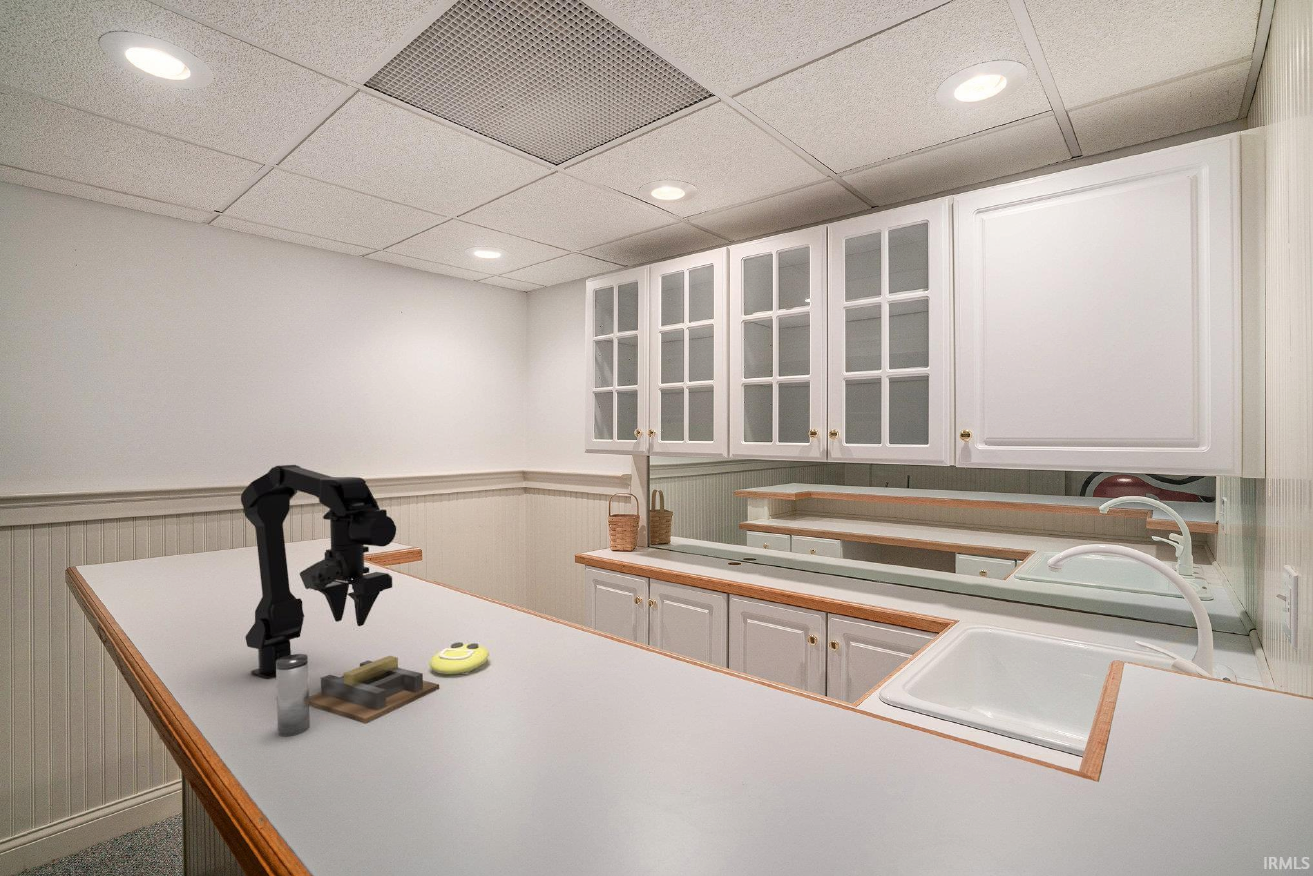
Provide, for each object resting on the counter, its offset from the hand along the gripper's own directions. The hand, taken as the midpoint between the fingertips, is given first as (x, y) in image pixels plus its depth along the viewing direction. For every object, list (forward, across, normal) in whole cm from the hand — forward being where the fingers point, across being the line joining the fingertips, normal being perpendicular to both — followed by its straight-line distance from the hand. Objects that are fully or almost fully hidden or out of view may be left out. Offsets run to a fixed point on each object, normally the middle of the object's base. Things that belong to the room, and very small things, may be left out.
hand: (349, 623), depth 121 cm
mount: (+13, +6, 0) cm, 14 cm away
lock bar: (+9, +6, 0) cm, 11 cm away
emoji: (+13, +10, +18) cm, 25 cm away
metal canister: (+13, +6, -15) cm, 21 cm away
